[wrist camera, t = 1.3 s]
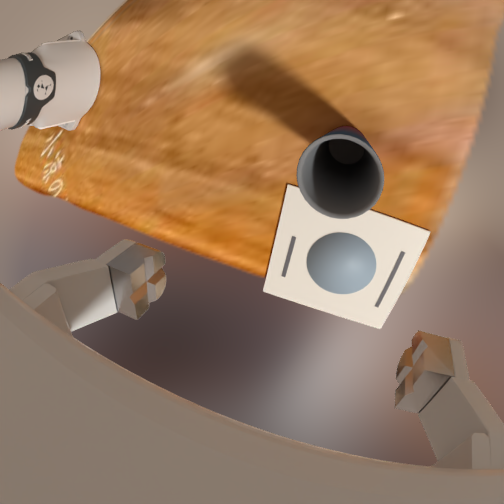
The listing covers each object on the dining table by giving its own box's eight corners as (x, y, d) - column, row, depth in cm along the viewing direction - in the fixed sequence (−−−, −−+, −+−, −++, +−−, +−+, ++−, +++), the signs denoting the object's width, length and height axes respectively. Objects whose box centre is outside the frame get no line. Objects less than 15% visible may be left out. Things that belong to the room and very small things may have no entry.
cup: (368, 115, 32) (376, 128, 20) (378, 169, 35) (388, 214, 22) (313, 123, 35) (287, 142, 22) (325, 176, 37) (306, 223, 25)
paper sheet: (263, 290, 49) (262, 291, 49) (288, 184, 40) (287, 184, 39) (380, 327, 46) (380, 329, 45) (430, 231, 36) (430, 232, 36)
